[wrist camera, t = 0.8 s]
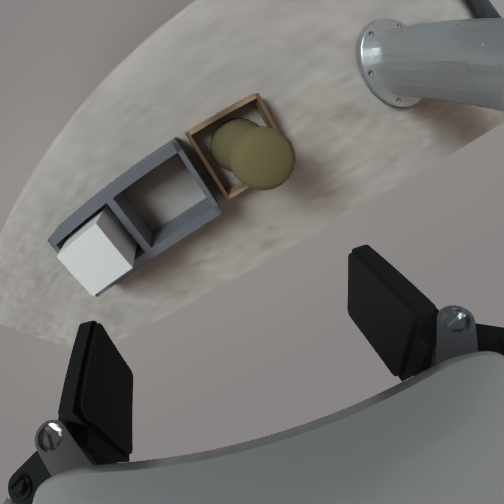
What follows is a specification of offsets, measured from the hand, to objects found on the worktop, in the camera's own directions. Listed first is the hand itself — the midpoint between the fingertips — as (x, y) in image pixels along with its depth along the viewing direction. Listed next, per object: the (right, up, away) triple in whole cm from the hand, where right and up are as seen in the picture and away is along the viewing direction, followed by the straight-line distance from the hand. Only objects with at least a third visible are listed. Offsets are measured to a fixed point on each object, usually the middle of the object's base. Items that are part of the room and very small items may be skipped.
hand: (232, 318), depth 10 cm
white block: (-16, +5, +21) cm, 27 cm away
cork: (-1, +14, +21) cm, 25 cm away
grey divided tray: (-12, +7, +21) cm, 25 cm away
